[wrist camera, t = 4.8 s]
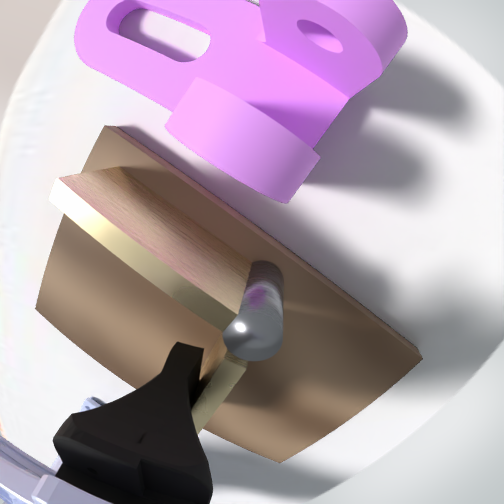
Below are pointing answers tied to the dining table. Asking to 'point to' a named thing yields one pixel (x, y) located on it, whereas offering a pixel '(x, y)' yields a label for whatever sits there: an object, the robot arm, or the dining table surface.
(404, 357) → the walnut board
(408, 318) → the dining table surface
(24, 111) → the dining table surface
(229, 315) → the fixed leaf
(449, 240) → the dining table surface
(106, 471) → the robot arm
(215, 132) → the bracket
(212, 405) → the swing leaf
